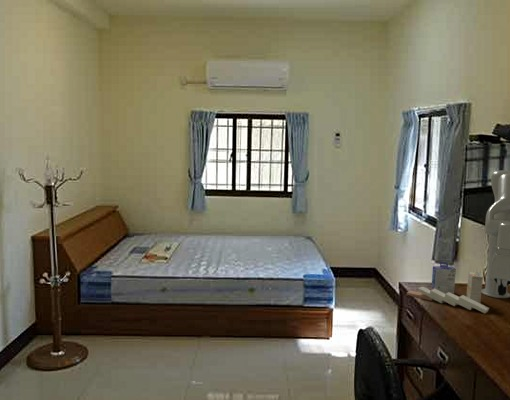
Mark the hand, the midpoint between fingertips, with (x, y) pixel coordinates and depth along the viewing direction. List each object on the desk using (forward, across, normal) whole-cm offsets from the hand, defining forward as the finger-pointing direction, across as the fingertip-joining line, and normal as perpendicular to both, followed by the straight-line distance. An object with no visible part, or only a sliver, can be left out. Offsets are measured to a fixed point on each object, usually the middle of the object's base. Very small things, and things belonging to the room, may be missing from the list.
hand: (501, 294), depth 219 cm
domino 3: (+8, -18, 0) cm, 20 cm away
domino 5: (+8, -5, 0) cm, 10 cm away
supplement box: (+9, -15, +11) cm, 21 cm away
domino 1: (+9, -29, 0) cm, 30 cm away
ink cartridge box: (+9, -31, +16) cm, 36 cm away
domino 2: (+8, -24, 0) cm, 25 cm away
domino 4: (+8, -11, 0) cm, 14 cm away
